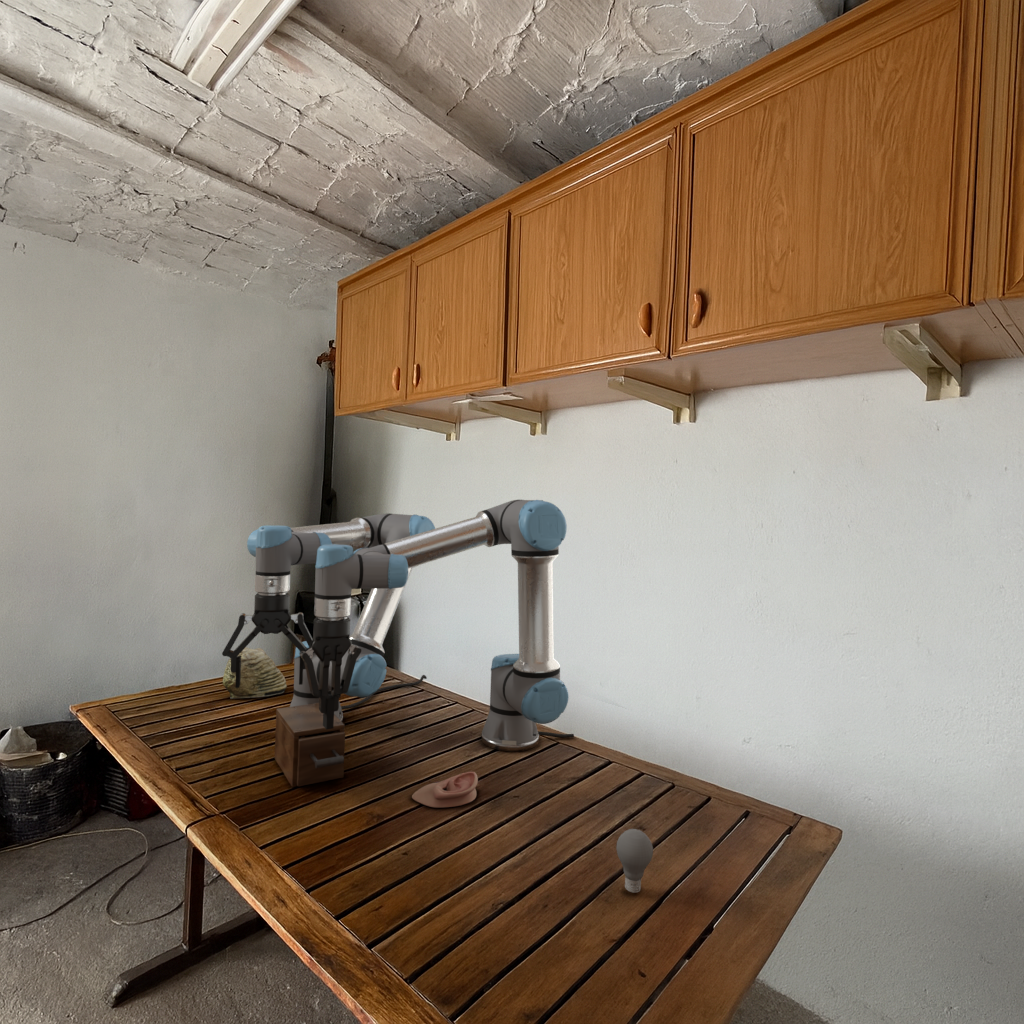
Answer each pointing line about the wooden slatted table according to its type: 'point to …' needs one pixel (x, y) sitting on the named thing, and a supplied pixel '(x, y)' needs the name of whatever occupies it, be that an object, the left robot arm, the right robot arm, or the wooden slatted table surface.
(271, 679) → the fossil
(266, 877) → the wooden slatted table surface
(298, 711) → the cabinet
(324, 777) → the drawer
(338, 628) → the right robot arm
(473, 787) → the anatomical model
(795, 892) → the wooden slatted table surface
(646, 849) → the light bulb
